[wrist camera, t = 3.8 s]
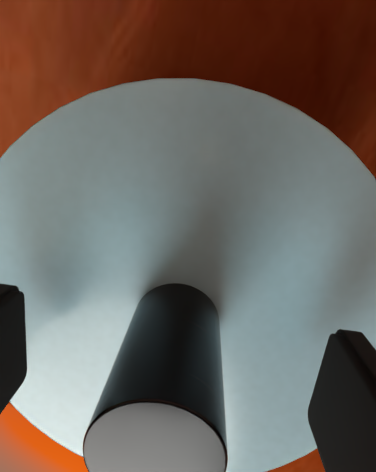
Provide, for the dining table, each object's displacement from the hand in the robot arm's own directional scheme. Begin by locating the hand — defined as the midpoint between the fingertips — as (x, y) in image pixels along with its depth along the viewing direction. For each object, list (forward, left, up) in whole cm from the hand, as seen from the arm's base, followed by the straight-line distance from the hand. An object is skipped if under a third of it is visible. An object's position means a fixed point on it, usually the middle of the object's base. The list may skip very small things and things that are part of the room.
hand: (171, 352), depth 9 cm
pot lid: (0, 0, -2) cm, 2 cm away
